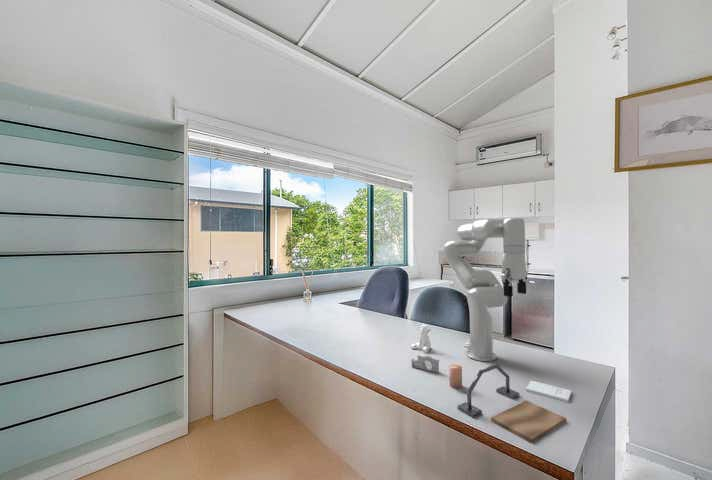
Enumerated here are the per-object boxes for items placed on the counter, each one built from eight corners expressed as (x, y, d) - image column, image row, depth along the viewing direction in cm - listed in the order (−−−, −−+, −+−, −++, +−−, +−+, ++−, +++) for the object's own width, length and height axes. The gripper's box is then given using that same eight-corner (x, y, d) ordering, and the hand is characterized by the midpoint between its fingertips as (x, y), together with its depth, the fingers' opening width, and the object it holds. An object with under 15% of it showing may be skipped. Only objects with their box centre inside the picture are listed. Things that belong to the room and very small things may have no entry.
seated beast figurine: (410, 348, 155) (409, 324, 155) (420, 344, 161) (420, 321, 161) (426, 353, 148) (425, 328, 148) (436, 349, 154) (436, 324, 154)
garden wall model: (410, 366, 133) (410, 353, 133) (412, 365, 135) (412, 351, 135) (438, 373, 126) (438, 358, 126) (439, 371, 128) (439, 357, 128)
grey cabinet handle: (457, 408, 100) (456, 372, 100) (503, 388, 112) (502, 356, 112) (473, 417, 95) (472, 379, 95) (519, 395, 107) (518, 361, 107)
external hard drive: (531, 384, 117) (571, 394, 109) (526, 392, 111) (568, 404, 102) (531, 380, 117) (571, 389, 109) (526, 388, 111) (568, 399, 102)
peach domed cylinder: (447, 384, 116) (446, 366, 116) (455, 381, 119) (455, 363, 119) (456, 389, 113) (456, 370, 113) (464, 386, 115) (464, 367, 115)
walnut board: (491, 420, 93) (491, 417, 93) (525, 403, 102) (525, 400, 102) (531, 443, 83) (531, 439, 83) (566, 421, 92) (566, 417, 92)
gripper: (516, 249, 129) (517, 291, 129) (492, 250, 119) (493, 296, 119) (535, 249, 123) (536, 293, 123) (511, 251, 113) (512, 298, 113)
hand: (515, 294), depth 121 cm, fingers open, 9 cm apart
